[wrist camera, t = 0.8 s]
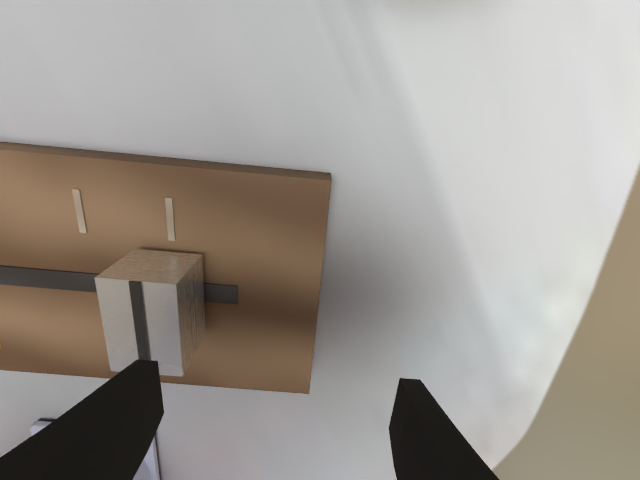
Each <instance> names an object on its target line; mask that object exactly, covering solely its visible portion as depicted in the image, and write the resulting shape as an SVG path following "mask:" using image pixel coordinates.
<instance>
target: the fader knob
mask: <svg viewBox="0 0 640 480" xmlns="http://www.w3.org/2000/svg"><path fill="white" fill-rule="evenodd" d="M95 284H96V289H97V295H98V301H99V307H100V312H101V318H102V324H103V330H104V335H105V341H106V347H107V353H108V358H109V364H110V370H111V371H116V372H121V371H122V370H123V369H125V368H126V367H127V366H129V365H130V364H131V363H133V362H134V361H135V360H137V359H139V360H153V361H158V367H159V375H167V376H180V377H183V376H184V374H185V372H186V370H187V368H188V366H189V364H190V363H191V361H192V359H193V357H194V355H195V353H196V351H197V350H198V348H199V346H200V344H201V342H202V340H203V338H204V337H205V312H204V287H203V262H202V255H201V254H189V253H178V252H167V251H155V250H144V249H134V250H133V251H131V252H130V253H129V254H127V255H126V256H124V257H123V258H122V259H120V260H119V261H117V262H116V263H114V264H113V265H112V266H110V267H109V268H107V269H106V270H104V271H103V272H102V273H100V274H99V275H97V276H96V277H95Z"/></svg>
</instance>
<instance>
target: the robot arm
mask: <svg viewBox="0 0 640 480" xmlns="http://www.w3.org/2000/svg"><path fill="white" fill-rule="evenodd" d="M163 414H164V409H163V401H162V392H161V384H160V375H159V367H158V361H153V360H139V359H137V360H135V361H134V362H133V363H131V364H130V365H129V366H127V367H126V368H125V369H123V370H122V371H121V372H119V373H118V374H117V375H115V376H114V377H113V378H111V379H110V380H109V381H107V382H106V383H105V384H103V385H102V386H101V387H99V388H98V389H97V390H95V391H94V392H93V393H91V394H90V395H89V396H87V397H86V398H85V399H83V400H82V401H81V402H79V403H78V404H77V405H75V406H74V407H72V408H71V409H70V410H68V411H67V412H66V413H64V414H63V415H62V416H60V417H59V418H57V419H56V420H55V421H53V422H45V421H37V422H35V423H34V424H33V425H32V426H31V427H30V433H31V437H30V438H28V439H27V440H26V441H24V442H23V443H21V444H20V445H18V446H17V447H15V448H14V449H12V450H11V451H10V452H8V453H6V454H5V455H3V456H2V457H0V480H160V476H159V468H158V460H157V452H156V444H155V434H156V431H157V429H158V426H159V424H160V421H161V419H162V416H163ZM389 433H390V441H391V449H392V455H393V462H394V468H395V473H396V477H397V480H499V479H498V478H497V476H496V475H495V474H494V473H493V472H492V471H491V470H490V468H489V467H488V466H487V465H486V464H485V462H484V461H483V460H482V459H481V458H480V456H479V455H478V454H477V453H476V452H475V450H474V449H473V448H472V447H471V445H470V444H469V443H468V442H467V440H466V439H465V438H464V437H463V435H462V434H461V433H460V432H459V430H458V429H457V428H456V427H455V425H454V424H453V423H452V421H451V420H450V419H449V417H448V416H447V415H446V414H445V412H444V411H443V410H442V408H441V407H440V406H439V404H438V403H437V402H436V400H435V399H434V398H433V396H432V395H431V393H430V392H429V391H428V389H427V388H426V387H425V385H424V384H423V383H422V382H421V380H417V379H403V378H400V380H399V384H398V389H397V393H396V398H395V402H394V407H393V412H392V416H391V421H390V425H389Z"/></svg>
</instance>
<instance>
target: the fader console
mask: <svg viewBox="0 0 640 480" xmlns="http://www.w3.org/2000/svg"><path fill="white" fill-rule="evenodd" d="M330 190H331V173H323V172H313V171H302V170H292V169H281V168H271V167H260V166H250V165H239V164H229V163H218V162H208V161H197V160H187V159H176V158H166V157H155V156H145V155H134V154H124V153H113V152H103V151H92V150H82V149H71V148H61V147H50V146H40V145H29V144H19V143H8V142H0V370H8V371H21V372H34V373H47V374H60V375H73V376H86V377H98V378H113V377H114V376H115V375H117V374H118V373H119V372H116V371H111V370H110V364H109V358H108V353H107V347H106V341H105V335H104V330H103V324H102V318H101V312H100V307H99V301H98V295H97V289H96V284H95V277H96V276H97V275H99V274H100V273H102V272H103V271H104V270H106V269H107V268H109V267H110V266H112V265H113V264H114V263H116V262H117V261H119V260H120V259H122V258H123V257H124V256H126V255H127V254H129V253H130V252H131V251H133V250H134V249H144V250H155V251H167V252H178V253H189V254H201V255H202V262H203V287H204V312H205V337H204V338H203V340H202V342H201V344H200V346H199V348H198V350H197V351H196V353H195V355H194V357H193V359H192V361H191V363H190V364H189V366H188V368H187V370H186V372H185V374H184V376H183V377H180V376H167V375H160V382H163V383H176V384H188V385H201V386H214V387H227V388H240V389H253V390H266V391H278V392H291V393H304V394H309V389H310V379H311V370H312V360H313V351H314V341H315V332H316V322H317V313H318V304H319V294H320V285H321V275H322V266H323V256H324V247H325V237H326V228H327V218H328V209H329V200H330Z"/></svg>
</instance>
